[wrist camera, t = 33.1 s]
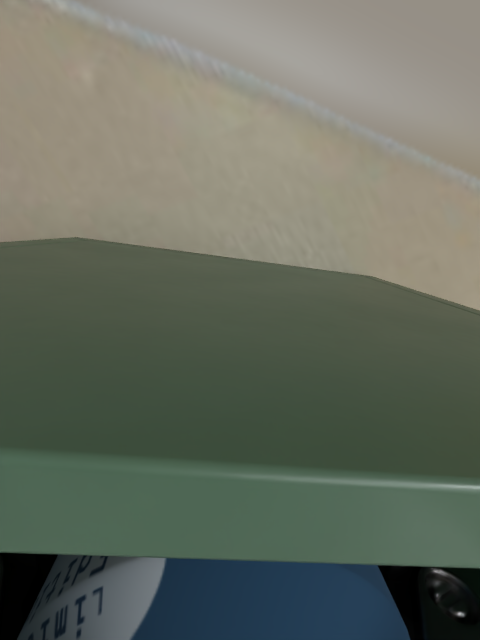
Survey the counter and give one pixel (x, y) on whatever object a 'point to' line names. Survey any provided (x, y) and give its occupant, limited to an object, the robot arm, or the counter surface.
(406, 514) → the bread box
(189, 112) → the counter surface
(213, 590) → the soda can
